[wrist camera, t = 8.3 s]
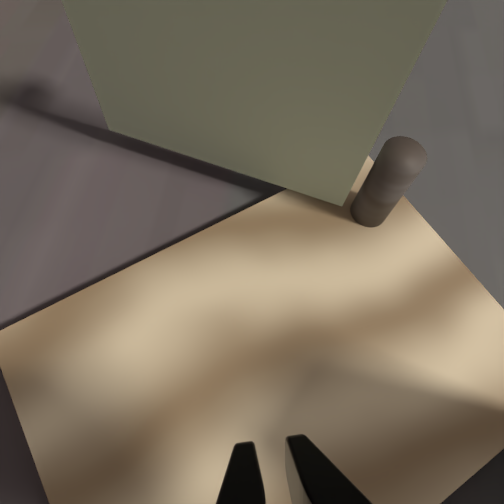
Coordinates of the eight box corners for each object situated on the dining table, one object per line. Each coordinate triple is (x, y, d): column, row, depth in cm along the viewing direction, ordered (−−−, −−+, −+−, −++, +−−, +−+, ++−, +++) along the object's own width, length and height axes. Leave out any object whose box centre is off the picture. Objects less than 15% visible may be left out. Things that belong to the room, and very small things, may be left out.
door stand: (557, 390, 20) (683, 371, 14) (147, 741, 14) (98, 937, 8) (358, 161, 25) (396, 84, 20) (0, 340, 19) (-89, 301, 14)
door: (341, 206, 22) (505, -114, 9) (108, 129, 23) (-29, -247, 10) (352, 170, 23) (511, -159, 10) (129, 98, 24) (27, -276, 12)
